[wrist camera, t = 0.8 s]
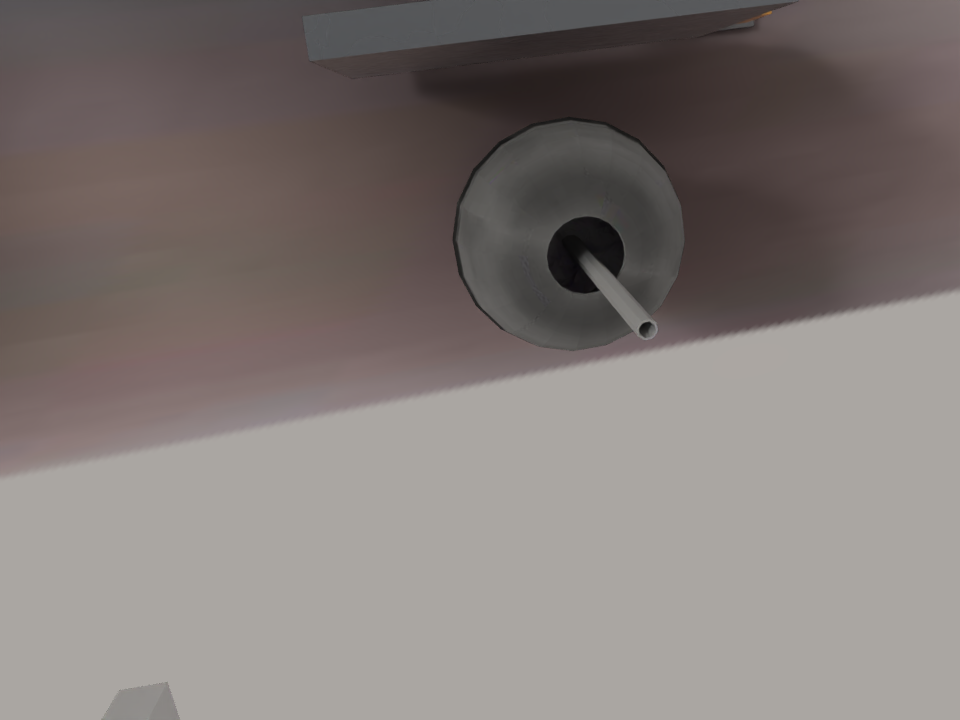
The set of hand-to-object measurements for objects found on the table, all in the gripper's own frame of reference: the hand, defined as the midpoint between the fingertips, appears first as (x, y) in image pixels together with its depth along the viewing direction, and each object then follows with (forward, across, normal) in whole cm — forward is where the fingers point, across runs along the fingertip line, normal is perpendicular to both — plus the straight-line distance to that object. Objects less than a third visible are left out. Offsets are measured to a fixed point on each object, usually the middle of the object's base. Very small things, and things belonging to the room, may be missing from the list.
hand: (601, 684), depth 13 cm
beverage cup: (+27, +2, +4) cm, 28 cm away
